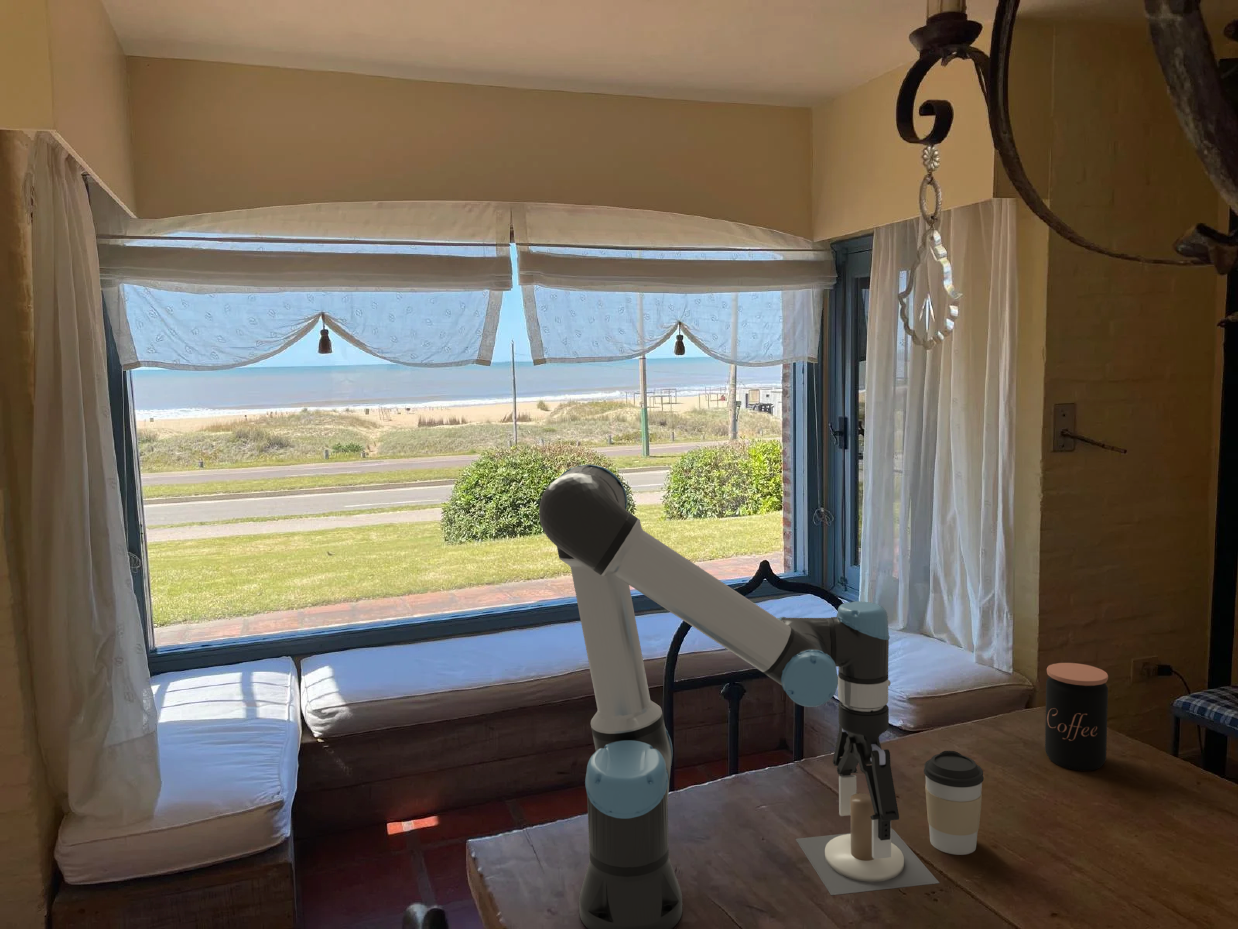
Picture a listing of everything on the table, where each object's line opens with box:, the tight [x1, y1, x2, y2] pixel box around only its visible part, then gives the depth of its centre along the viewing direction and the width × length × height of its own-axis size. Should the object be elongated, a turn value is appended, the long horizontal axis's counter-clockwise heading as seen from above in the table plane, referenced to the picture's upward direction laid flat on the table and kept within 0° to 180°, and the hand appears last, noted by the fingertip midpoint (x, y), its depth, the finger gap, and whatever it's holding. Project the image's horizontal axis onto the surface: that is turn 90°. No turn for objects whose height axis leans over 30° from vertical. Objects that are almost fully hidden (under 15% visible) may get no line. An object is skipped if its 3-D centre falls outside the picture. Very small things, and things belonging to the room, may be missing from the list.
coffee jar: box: [1044, 662, 1109, 771], centre depth 171 cm, size 11×11×18 cm
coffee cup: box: [923, 750, 985, 856], centre depth 141 cm, size 9×9×15 cm
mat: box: [795, 828, 940, 896], centre depth 138 cm, size 17×16×1 cm
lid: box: [825, 792, 904, 882], centre depth 138 cm, size 12×12×10 cm
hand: (863, 834), depth 138 cm, fingers open, 12 cm apart
